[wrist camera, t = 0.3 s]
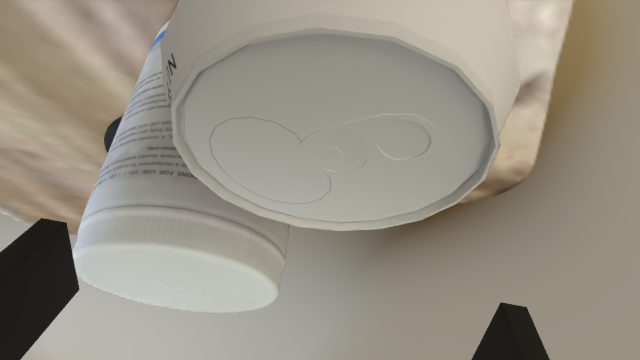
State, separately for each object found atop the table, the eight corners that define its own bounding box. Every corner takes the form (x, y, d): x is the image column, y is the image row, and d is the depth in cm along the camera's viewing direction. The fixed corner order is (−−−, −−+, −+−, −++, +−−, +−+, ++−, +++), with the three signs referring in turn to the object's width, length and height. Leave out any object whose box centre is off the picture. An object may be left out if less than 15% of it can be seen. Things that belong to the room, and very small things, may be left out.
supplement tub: (137, 69, 28) (42, 282, 20) (193, -38, 21) (84, 217, 13) (262, 132, 33) (224, 325, 25) (339, 60, 26) (322, 292, 18)
